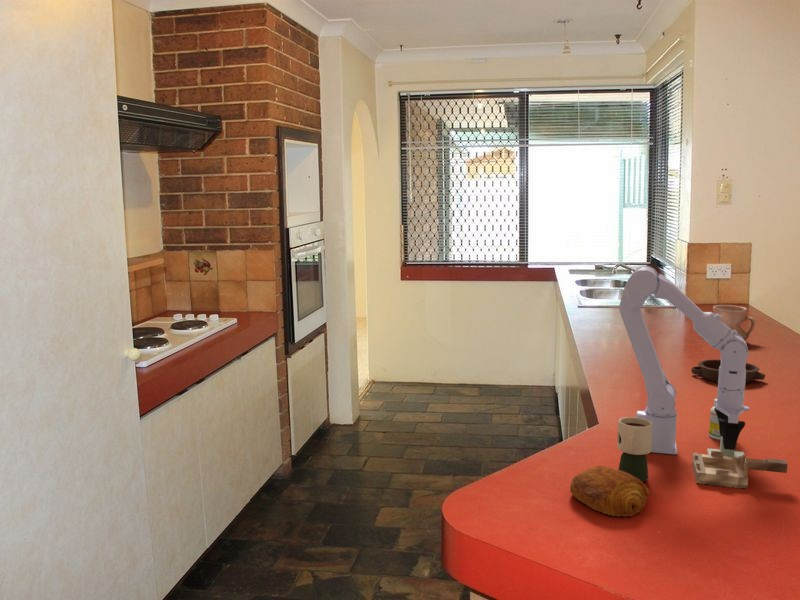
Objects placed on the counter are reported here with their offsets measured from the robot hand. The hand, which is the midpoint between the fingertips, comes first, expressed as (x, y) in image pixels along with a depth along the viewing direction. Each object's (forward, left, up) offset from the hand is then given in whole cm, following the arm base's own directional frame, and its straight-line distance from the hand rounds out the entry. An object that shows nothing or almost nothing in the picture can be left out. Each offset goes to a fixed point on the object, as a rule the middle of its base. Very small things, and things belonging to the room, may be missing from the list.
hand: (727, 443), depth 178 cm
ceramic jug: (+15, +136, -3) cm, 137 cm away
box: (-3, -14, -3) cm, 14 cm away
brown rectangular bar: (+6, -17, +1) cm, 18 cm away
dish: (+8, +75, -3) cm, 76 cm away
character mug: (-21, -21, -3) cm, 30 cm away
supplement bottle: (0, +14, -3) cm, 14 cm away
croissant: (-25, -35, -3) cm, 43 cm away
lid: (0, -2, -4) cm, 4 cm away
